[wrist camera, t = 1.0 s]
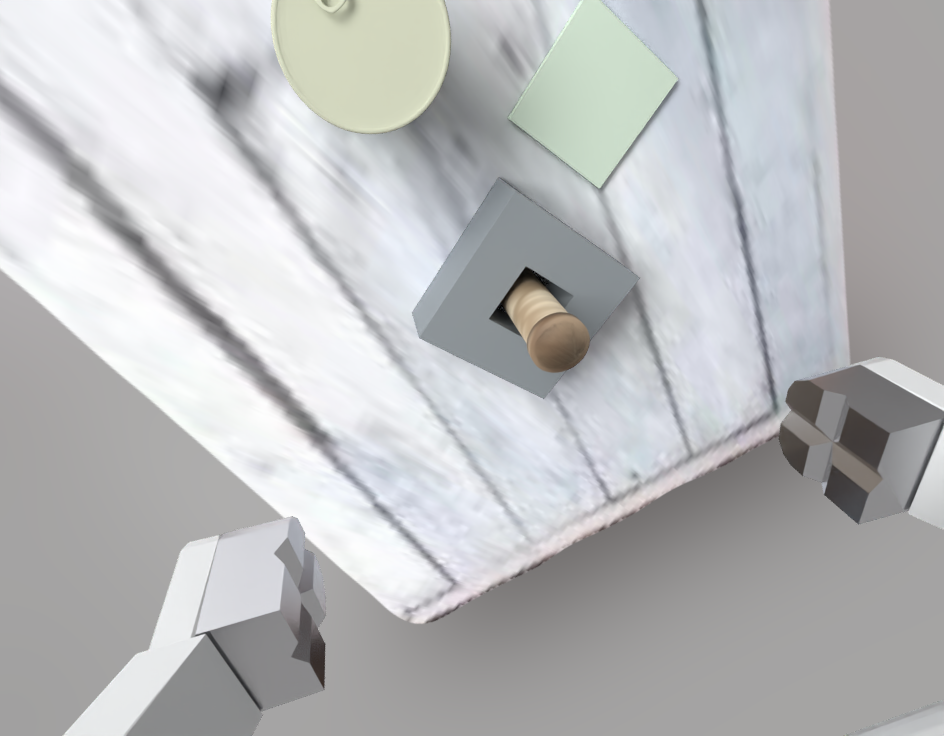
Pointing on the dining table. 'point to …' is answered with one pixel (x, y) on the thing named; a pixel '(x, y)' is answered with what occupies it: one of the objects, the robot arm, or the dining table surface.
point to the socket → (497, 268)
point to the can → (363, 58)
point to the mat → (593, 92)
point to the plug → (545, 325)
